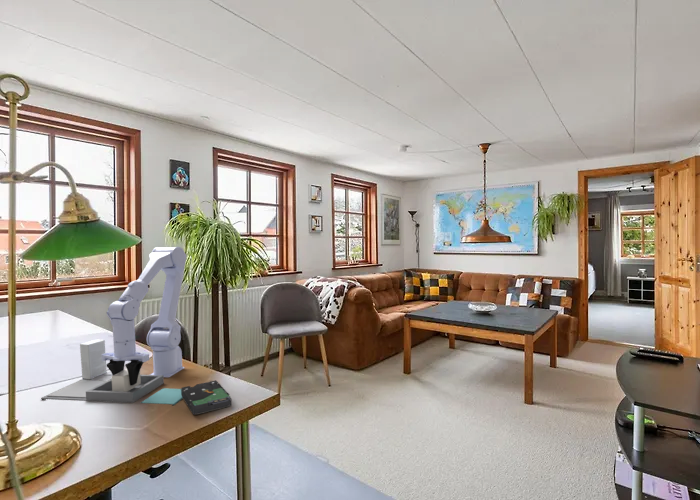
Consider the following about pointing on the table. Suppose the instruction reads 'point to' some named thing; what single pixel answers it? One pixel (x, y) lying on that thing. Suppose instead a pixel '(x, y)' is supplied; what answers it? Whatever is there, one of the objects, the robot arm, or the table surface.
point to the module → (123, 381)
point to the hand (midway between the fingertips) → (126, 383)
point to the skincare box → (92, 358)
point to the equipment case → (106, 390)
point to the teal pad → (165, 397)
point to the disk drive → (205, 397)
